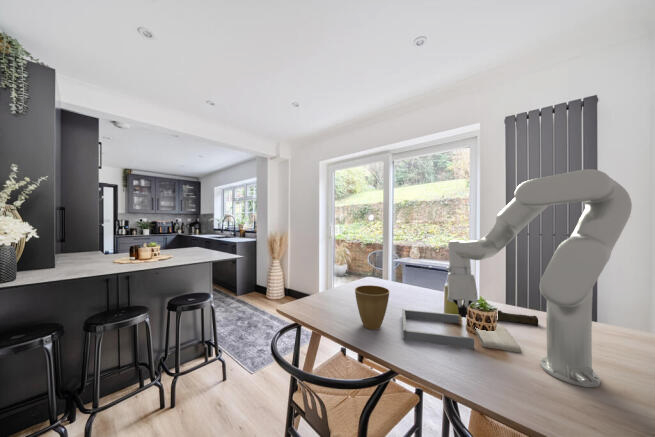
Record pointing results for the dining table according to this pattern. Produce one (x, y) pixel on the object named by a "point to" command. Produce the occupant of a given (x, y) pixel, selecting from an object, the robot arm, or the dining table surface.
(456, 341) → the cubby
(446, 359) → the dining table surface
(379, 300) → the plant pot
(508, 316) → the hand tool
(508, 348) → the washcloth
